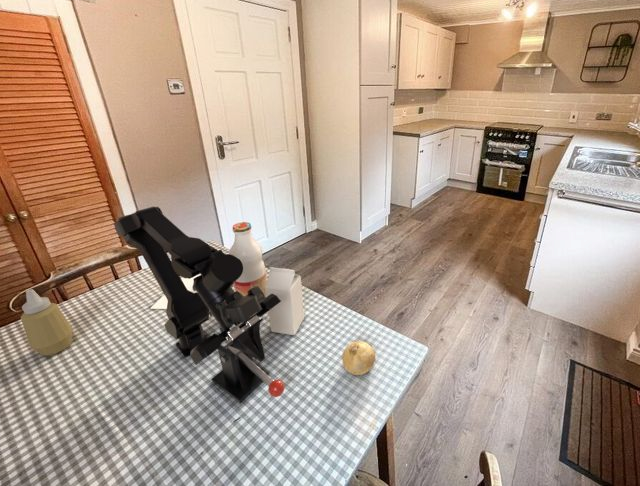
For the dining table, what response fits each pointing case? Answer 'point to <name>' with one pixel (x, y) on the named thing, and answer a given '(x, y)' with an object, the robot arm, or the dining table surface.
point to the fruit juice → (248, 260)
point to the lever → (259, 373)
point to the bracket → (236, 376)
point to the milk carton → (285, 300)
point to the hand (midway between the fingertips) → (262, 359)
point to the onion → (358, 358)
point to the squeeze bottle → (45, 325)
